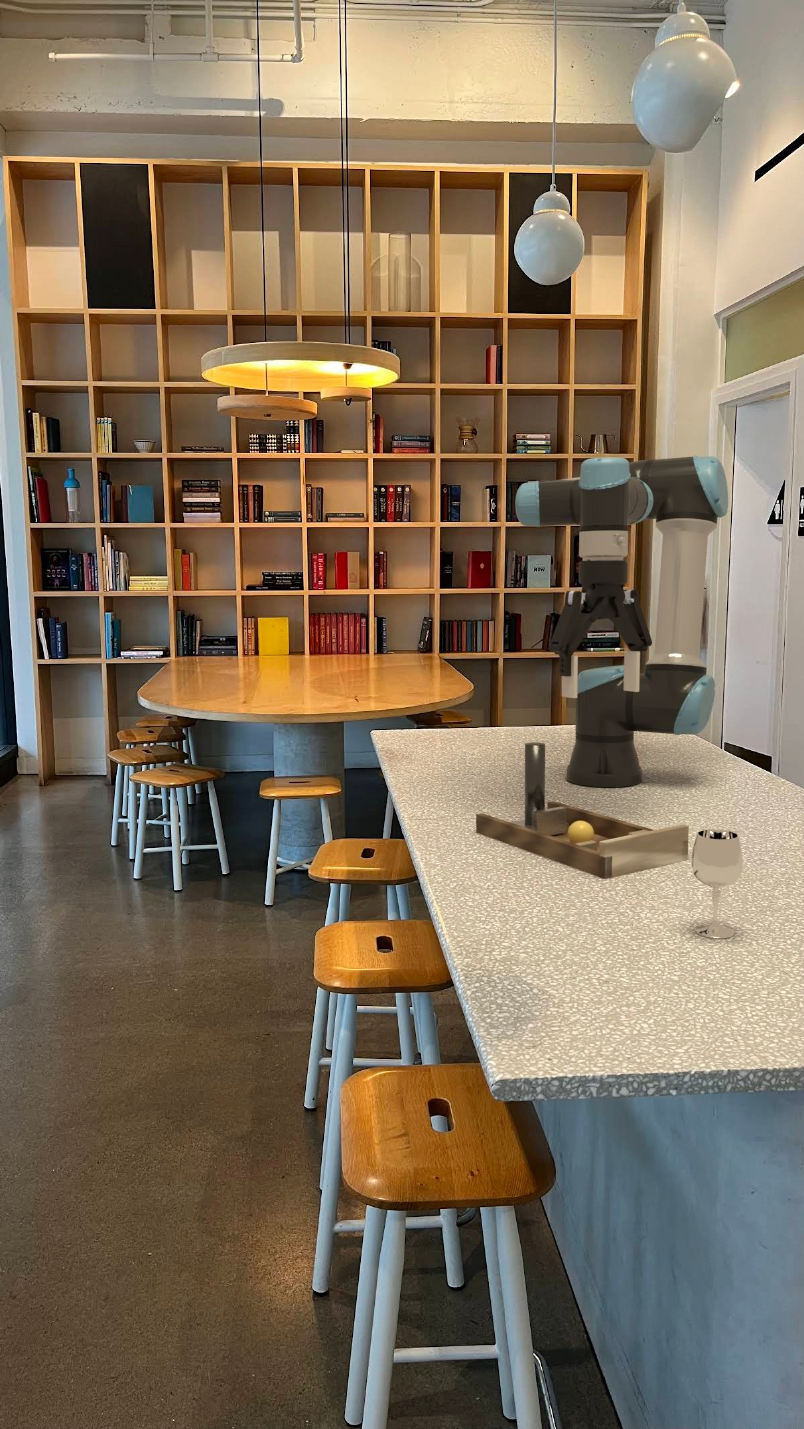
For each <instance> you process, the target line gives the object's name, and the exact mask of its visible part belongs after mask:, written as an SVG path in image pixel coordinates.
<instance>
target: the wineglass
mask: <svg viewBox="0 0 804 1429" xmlns="http://www.w3.org/2000/svg"><path fill="white" fill-rule="evenodd" d="M743 861H744V860H743V851H742V846H741V841H740V837H739V834H738V833H737V832H734V831H730V830H724V829H703V830H699V831H697V834H696V837H695V840H694V843H693V848H692V853H691V867H692V868H691V869H692V873H693V875H694V876H695V878H696V879H697V880H698V881H699V882H701V883H702V884H703V885H706V886H709V887H712V888H713V889H712V891H711V899H712V904H713V905H712V906H713V915H712V916H713V917H712V921H711V923H710V924H702V925H699V926H697V927H696V928H695V933H696V934H698V935H699V936H701V937H702V936H703V937H706V938H711V939H719V940H720V939H722V940H723V939H728V938H731V937H734V935H735V931H734V930H733V929H732V928H730V927H727V926H724V925H720V924H719V923H720V922H719V920H718V909H719V908H718V907H719V901H720V899H721V891H720V890H719V889H720V888H725V887H728V886H731V885H733V884H735V883H736V882H737V881H738V880H739V879H740V877H741V875H742V871H743Z"/></svg>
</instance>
